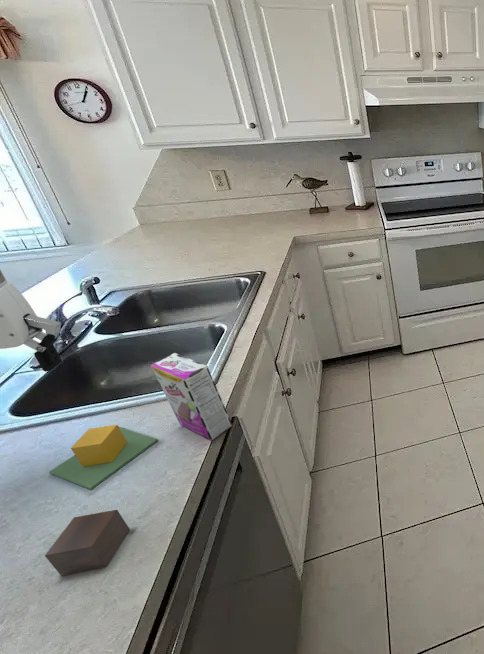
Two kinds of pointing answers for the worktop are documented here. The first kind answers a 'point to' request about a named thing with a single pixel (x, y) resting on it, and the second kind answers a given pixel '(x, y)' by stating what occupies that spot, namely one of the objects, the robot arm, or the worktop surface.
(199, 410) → the candy bar box
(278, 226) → the worktop surface
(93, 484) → the green mat
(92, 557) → the walnut block
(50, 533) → the worktop surface
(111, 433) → the mustard block
